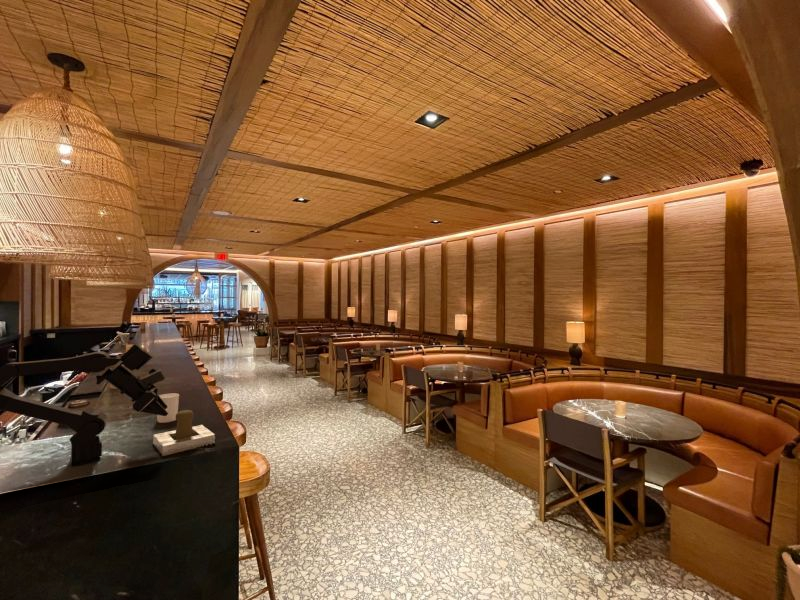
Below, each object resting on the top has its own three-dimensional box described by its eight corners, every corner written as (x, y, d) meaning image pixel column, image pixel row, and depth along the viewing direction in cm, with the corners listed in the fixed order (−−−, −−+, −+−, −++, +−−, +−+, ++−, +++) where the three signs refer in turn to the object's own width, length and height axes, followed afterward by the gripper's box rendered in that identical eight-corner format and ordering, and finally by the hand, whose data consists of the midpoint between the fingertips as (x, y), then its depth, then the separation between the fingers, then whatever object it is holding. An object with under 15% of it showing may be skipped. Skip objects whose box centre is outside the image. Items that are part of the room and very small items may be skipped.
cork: (184, 447, 119) (185, 414, 119) (169, 446, 120) (169, 412, 120) (198, 441, 124) (199, 409, 125) (183, 439, 126) (184, 407, 126)
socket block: (162, 455, 112) (163, 446, 112) (153, 443, 122) (153, 434, 122) (214, 443, 122) (214, 434, 122) (201, 433, 132) (202, 424, 132)
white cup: (182, 419, 148) (182, 395, 148) (161, 424, 142) (161, 399, 142) (172, 416, 152) (173, 392, 153) (151, 421, 146) (152, 396, 146)
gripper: (147, 366, 109) (188, 397, 115) (148, 358, 125) (185, 386, 131) (113, 395, 105) (158, 427, 110) (119, 384, 120) (158, 412, 126)
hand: (166, 411), depth 120 cm, fingers open, 9 cm apart
